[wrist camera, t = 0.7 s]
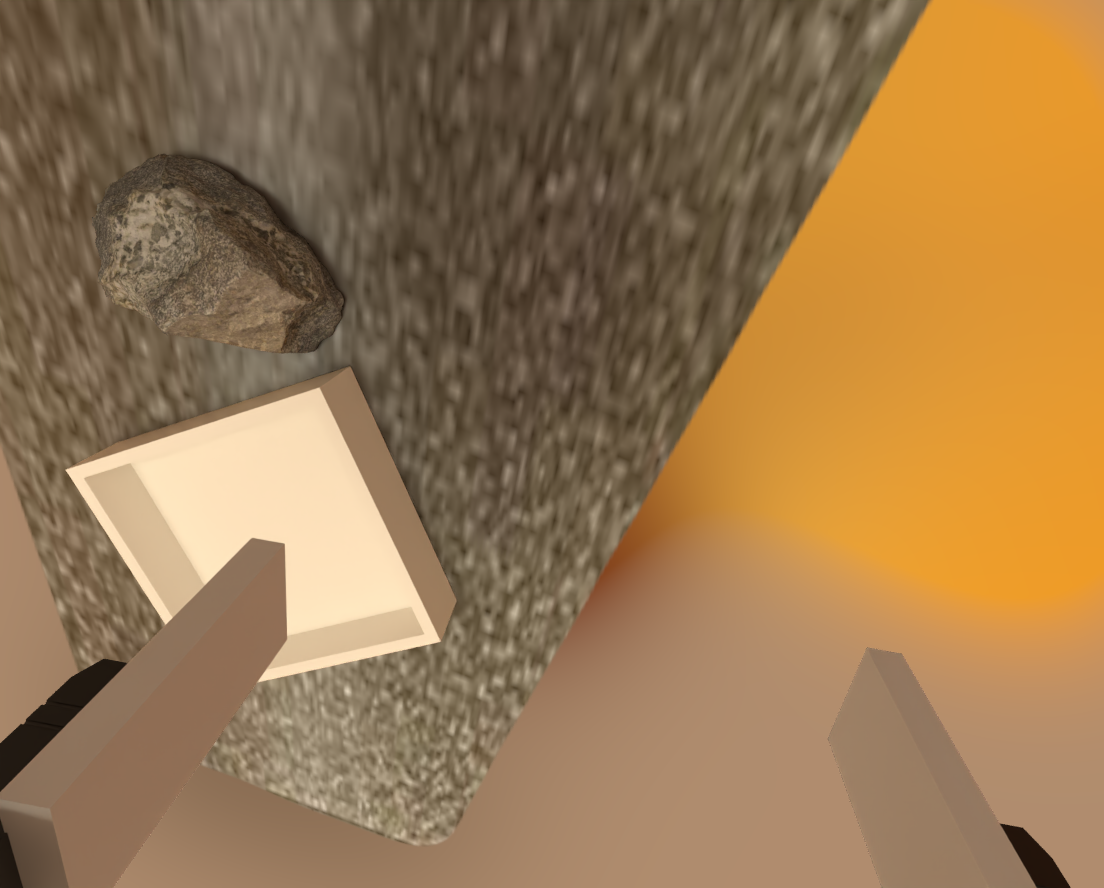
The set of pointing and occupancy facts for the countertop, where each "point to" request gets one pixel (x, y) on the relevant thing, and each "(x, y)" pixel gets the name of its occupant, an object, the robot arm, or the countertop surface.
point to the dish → (279, 519)
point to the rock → (211, 259)
